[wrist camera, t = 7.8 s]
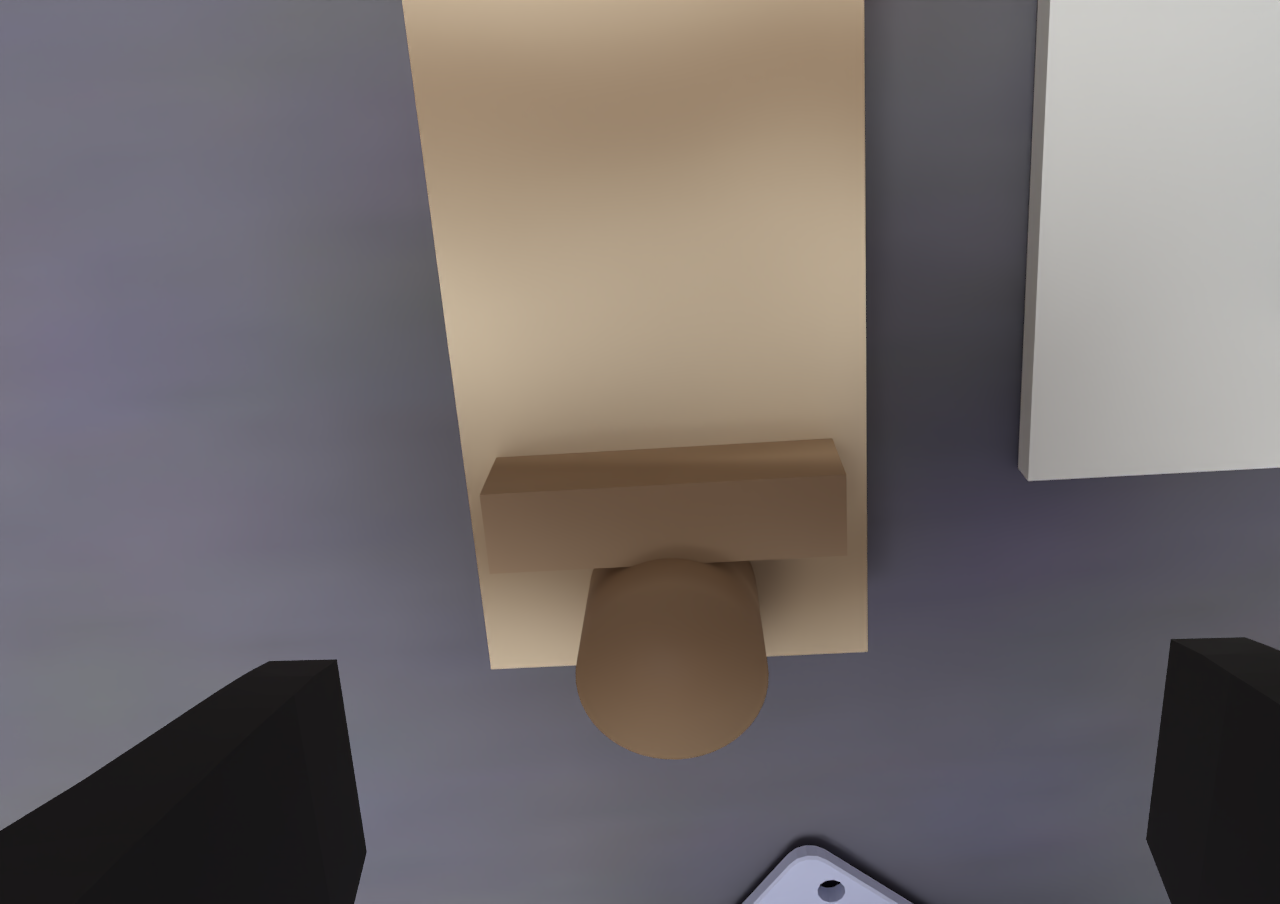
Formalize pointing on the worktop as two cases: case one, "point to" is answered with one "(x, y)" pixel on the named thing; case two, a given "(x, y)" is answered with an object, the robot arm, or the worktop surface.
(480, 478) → the wooden block stand
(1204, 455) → the white base plate
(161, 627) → the worktop surface
